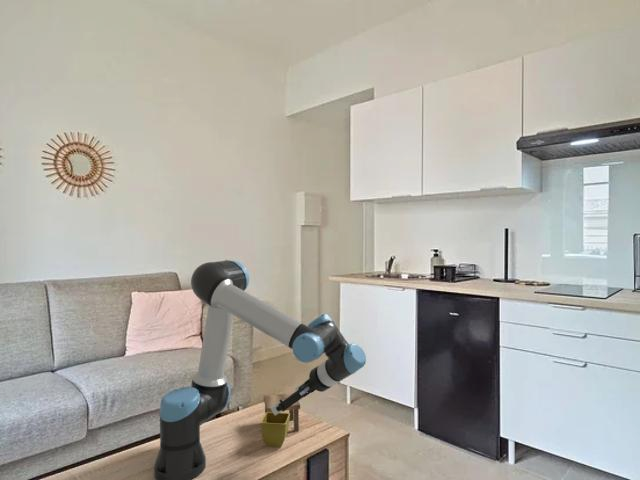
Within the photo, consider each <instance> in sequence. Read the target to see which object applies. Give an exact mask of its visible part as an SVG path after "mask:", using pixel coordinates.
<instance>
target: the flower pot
mask: <svg viewBox="0 0 640 480" xmlns="http://www.w3.org/2000/svg"><path fill="white" fill-rule="evenodd" d="M289 419H290V413H289V412H288V413H287V412H280V413H278V414H277V415H274V413H273V412H266V414H265V413H264V415H263V417H262V419H261V422H260V427H261V430H260V431H261V437H262V439H263V442H264V444H265V445H266V447H278V448H279V447H280V448H281V447H282V446H283V444H284V442H285V439H286V437H287V434H288V431H289V426H290V420H289Z"/></svg>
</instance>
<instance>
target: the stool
mask: <svg viewBox="0 0 640 480" xmlns="http://www.w3.org/2000/svg"><path fill="white" fill-rule="evenodd" d="M293 393H294V392H288V393H279V394H270V395H263V402H264V415H265V414H266V412H272V410H271V409H270V408H271V407H273V406H274V405H276V404H278V403H279V402H280V401H279V400H285V399H286V398H288V397H289V396H290V395H292V394H293ZM300 409H301V404H300V401H297V402H296V403H294V404H293V405H292V406H290V407H289V408H287V409H286V410H285V411H288V413H290V419H289V422H291V421H293V431H294V432H295V433H296V432H299V431H300V429H299V427H300V425H299V424H300V422H299V421H300V419H299V416H300V415H299V413H300V412H299V411H300Z"/></svg>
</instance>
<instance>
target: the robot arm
mask: <svg viewBox="0 0 640 480" xmlns="http://www.w3.org/2000/svg"><path fill="white" fill-rule="evenodd" d="M190 279H191V280H190V286H191V290H192V292H193V294H194V295H195V297H197V298H198V299H199V300H200V301H202V302H203V303H205V305H208V306H207V312H206V319H205V325H204V332H203V338H202V345H201V349H200V350H201V351H200V357H199V363H198V370H197V372H196V373H194V374H193V376H192V377H191V378H192V379H191V386H184V387H179V388H176V389H173V390H170V391H169V392H167V393H166V394H165V395H164V396H163V397H162V399H161V401H160V404H159V405H160V406H159V412H158V413H159V442H160V443H159V444H160V445H159V449H158V453H157V456H156V460H155V463H154V467H153V475H154V478H155V479H156V480H193V479H194V478H196V477H199V475H201V474H202V473H203V472H204V471H205V469H206V465H207V461H206V459H207V458H206V454H205V451H204V449H203V446H202V443H201V437H200V435H201V426H202V425H204V424H205V423H206V422H208V421H209V420H211V419H212V418H214V417H216V415H218V414H220V413H221V412H222V411H223V410H224V409H225V408H226V407H227V406H228V404H229V402H230V400H231V396H232V395H231V394H232V393H231V387H230V386H229V383H228V377H227V376H226V375H225V368H226V362H227V357H228V350H229V344H230V339H231V338H230V337H231V333H232V331H231V330H232V325H233V319H234V317H236V318H238V319H240V320H241V321H242V322H245V324H248V325H250V326H252V327H253V328H255V329H256V330H258V331H260V332H262V333H264V334H265V335H267V336H268V337H271V338H272V339H273V340H276V341H277V342H280V343H281V344H282V345H284V346H287V347H288V348H290V349H291V350H292V353H293V355H294V356H295V359H297V360H298V361H299V362H302V363H307V364H308V363H311V362H314V361H315V360H317V359H319V358H320V357H322V355H323V354H324V355H325V356H326V357H327V359H326V360H324V361H322V362H321V363H320V364H318V365H317V366H315V367H314V368H312V369H311V370H310V372H309V375H308V379H306V380H305V381H304V382H302V383H301V384H299V385H298V386H296V387H295V388H294V390H295V391H294V392H292V393H293V394H292V395H290V396H289V397H288V398H286V399H285V400H279V401H280V402H279V403H278V404H276V405H274V406H273V407H271V408H270V409H271V410H272V412H273V413H274V415H277V414H278V413H283V412H285V411H287V410H286V409H287V408H289V407H290V406H292V405H293V404H294V403H296V402H297V401H298V402H300V400H302V398H305V397H308V395H309V394H312V393H314V392H315V391H317V392H320V393H321V392H323V393H324V392H325V391H327V390H328V389H330V388H331V387H333V386H335V385H340V384H341V381H343V380H345V379H347V378H348V377H350V376H352V375H353V374H356V373H357V372H358V371H359V370H360V369H362V368H364V366H365V365H366V362H367V356H366V353H365V351H364V350H363V348H362V347H361V346H360V345H358V344H357V343H354V342H352V343H349V342H348V341H347V340H346V339H345V337H344V335H343V334H342V332H341V331H340V329H339V328H338V326H337V324H336V323H335V321H334V320H333V319H332V317H330V315H328V313H322V314H321V315H320V316H318V317H316V318H315V319H313V320H312V321H311V322H309V323H308V324H307V325H306V324H304V323H302V322H300V321H299V320H297V319H295V318H293V317H292V316H291V315H288V314H287V313H285V312H283V311H281V310H279V309H277V308H276V307H274V306H272V305H271V304H268V303H266V302H265V301H263V300H261V299H259V298H257V297H255V296H254V295H252V294H250V293H249V292H246V291H245V290H246V289H247V288H248V286H249V284H250V275H249V272H248V270H247V268H246V267H245V265H244V264H243V263H241V262H239V261H236V260H228V259H225V260H220V261H210V262H205V263H202V264H200V265H199V266H197V267H196V268H195V270H194V271H193V273H192V275H191V278H190Z"/></svg>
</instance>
